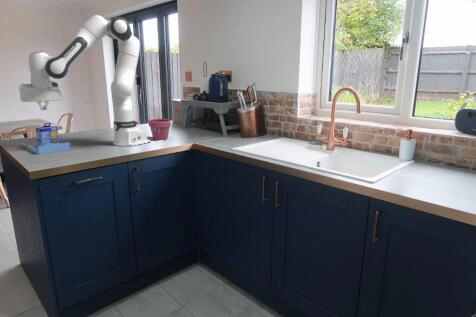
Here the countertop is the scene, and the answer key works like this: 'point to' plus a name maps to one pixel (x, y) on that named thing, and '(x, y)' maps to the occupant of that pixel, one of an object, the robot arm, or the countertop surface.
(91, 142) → the countertop surface
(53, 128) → the ink cartridge box
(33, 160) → the countertop surface
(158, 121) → the plant pot
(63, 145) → the light blue tray
